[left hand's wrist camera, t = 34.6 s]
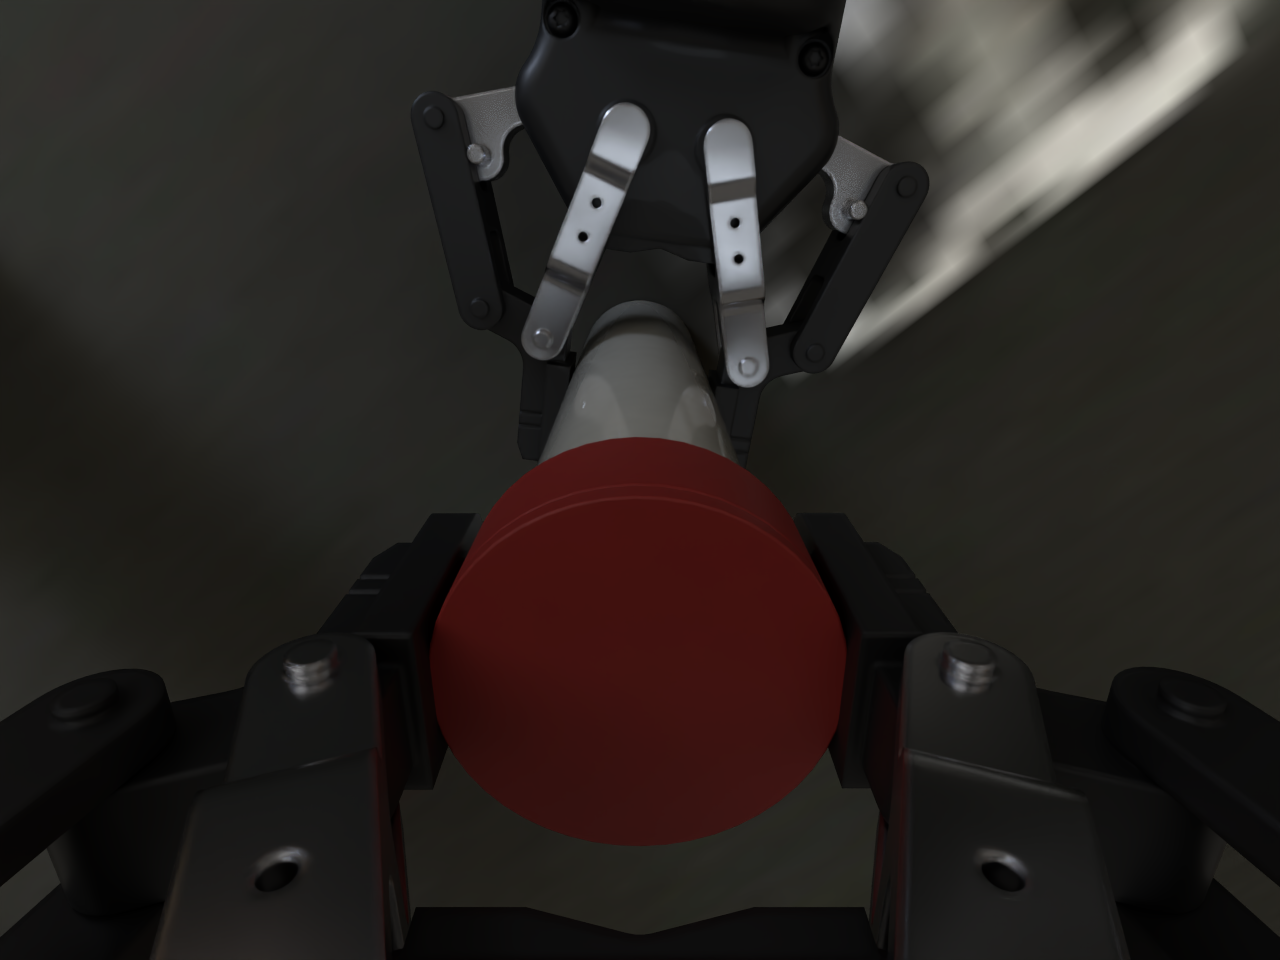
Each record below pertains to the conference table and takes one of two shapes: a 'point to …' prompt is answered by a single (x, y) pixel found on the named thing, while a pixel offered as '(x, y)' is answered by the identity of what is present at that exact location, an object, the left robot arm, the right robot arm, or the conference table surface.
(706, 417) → the white tall cylinder
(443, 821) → the conference table surface
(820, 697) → the lid
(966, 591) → the conference table surface
